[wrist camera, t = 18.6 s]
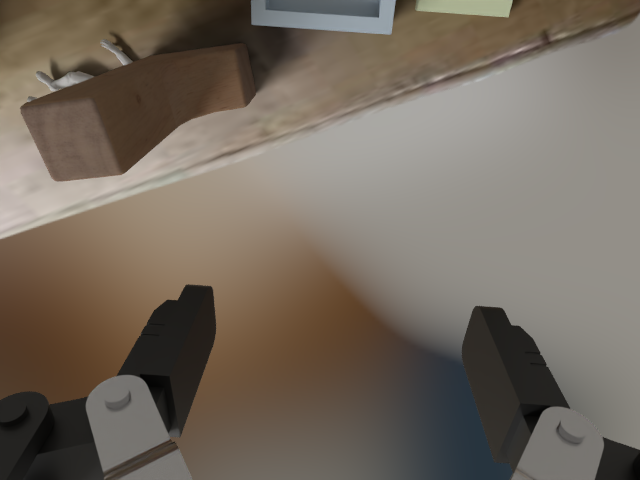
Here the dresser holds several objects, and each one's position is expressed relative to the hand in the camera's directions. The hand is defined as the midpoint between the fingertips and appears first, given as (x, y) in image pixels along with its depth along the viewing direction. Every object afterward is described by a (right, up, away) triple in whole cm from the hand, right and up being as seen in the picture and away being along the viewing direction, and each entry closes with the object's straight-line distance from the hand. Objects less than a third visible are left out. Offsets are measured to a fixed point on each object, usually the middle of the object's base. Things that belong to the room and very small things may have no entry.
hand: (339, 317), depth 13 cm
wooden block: (-11, +17, +26) cm, 33 cm away
